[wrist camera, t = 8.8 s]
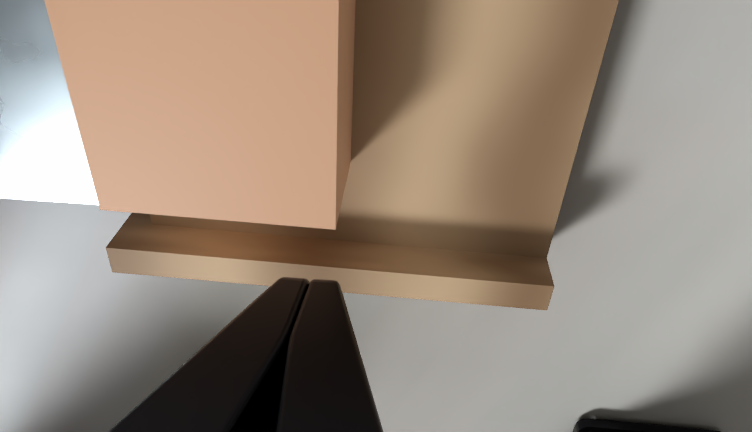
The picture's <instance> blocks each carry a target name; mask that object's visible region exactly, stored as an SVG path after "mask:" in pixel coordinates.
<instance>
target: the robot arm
mask: <svg viewBox="0 0 752 432" xmlns="http://www.w3.org/2000/svg"><path fill="white" fill-rule="evenodd" d="M109 432H383V429H382V426H381V422H380V419H379V416H378V412H377V409H376V405H375V402H374V399H373V395H372V392H371V389H370V385H369V382H368V378H367V375H366V372H365V368H364V365H363V361H362V358H361V355H360V351H359V348H358V344H357V341H356V338H355V334H354V331H353V328H352V324H351V321H350V317H349V314H348V311H347V307H346V304H345V300H344V297H343V294H342V290H341V287H340V284H339V283H338V282H337V281H335V280H323V279H313V280H311V281H310V282H309V280H307V279H306V278H296V277H281V278H279V279H278V280H277V281H276V282H275V283H273V284H272V285H271V286H270V287H269V288H268V289H267V290H266V291H265V292H263V293H262V294H261V295H260V296H259V297H258V298H257V299H256V300H255V301H253V302H252V303H251V304H250V305H249V306H248V307H247V308H246V309H244V310H243V311H242V312H241V313H240V314H239V315H238V316H237V317H236V318H234V319H233V320H232V321H231V322H230V323H229V324H228V325H227V326H226V327H224V328H223V329H222V330H221V331H220V332H219V333H218V334H217V335H216V336H214V337H213V338H212V339H211V340H210V341H209V342H208V343H207V344H206V345H204V346H203V347H202V348H201V349H200V350H199V351H198V352H197V353H196V354H194V355H193V356H192V357H191V358H190V359H189V360H188V361H187V362H186V363H184V364H183V365H182V366H181V367H180V368H179V369H178V370H177V371H176V372H174V373H173V374H172V375H171V376H170V377H169V378H168V379H167V380H165V381H164V382H163V383H162V384H161V385H160V386H159V387H158V388H157V389H155V390H154V391H153V392H152V393H151V394H150V395H149V396H148V397H147V398H145V399H144V400H143V401H142V402H141V403H140V404H139V405H138V406H137V407H135V408H134V409H133V410H132V411H131V412H130V413H129V414H128V415H127V416H125V417H124V418H123V419H122V420H121V421H120V422H119V423H118V424H117V425H115V426H114V427H113V428H112V429H111V430H110V431H109ZM573 432H719V431H713V430H702V429H692V428H681V427H670V426H660V425H649V424H638V423H627V422H617V421H606V420H595V419H584V420H580V421H579V422H577V423H576V425H575V427H574V429H573Z"/></svg>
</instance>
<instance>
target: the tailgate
mask: <svg viewBox="0 0 752 432" xmlns="http://www.w3.org/2000/svg"><path fill="white" fill-rule="evenodd" d="M0 199H15V200H31V201H47V202H63V203H79V204H94V205H99V203H98V199H97V195H96V192H95V188H94V184H93V180H92V177H91V173H90V169H89V165H88V162H87V158H86V154H85V151H84V147H83V143H82V139H81V136H80V132H79V128H78V124H77V121H76V117H75V113H74V109H73V106H72V102H71V98H70V95H69V91H68V87H67V83H66V80H65V76H64V72H63V68H62V65H61V61H60V57H59V53H58V50H57V46H56V42H55V38H54V35H53V31H52V27H51V24H50V20H49V16H48V12H47V9H46V5H45V1H44V0H0Z"/></svg>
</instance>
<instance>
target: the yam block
mask: <svg viewBox="0 0 752 432" xmlns="http://www.w3.org/2000/svg"><path fill="white" fill-rule="evenodd" d="M44 1H45V5H46V9H47V12H48V16H49V20H50V24H51V27H52V31H53V35H54V38H55V42H56V46H57V50H58V53H59V57H60V61H61V65H62V68H63V72H64V76H65V80H66V83H67V87H68V91H69V95H70V98H71V102H72V106H73V109H74V113H75V117H76V121H77V124H78V128H79V132H80V136H81V139H82V143H83V147H84V151H85V154H86V158H87V162H88V165H89V169H90V173H91V177H92V180H93V184H94V188H95V192H96V195H97V199H98V203H99V207H100V210H108V211H120V212H132V213H143V214H155V215H167V216H179V217H191V218H203V219H214V220H226V221H238V222H250V223H262V224H274V225H286V226H297V227H309V228H321V229H333V230H336V226H337V221H338V217H339V212H340V208H341V203H342V199H343V194H344V190H345V185H346V181H347V176H348V172H349V167H350V163H351V137H352V104H353V70H354V36H355V2H356V0H44Z"/></svg>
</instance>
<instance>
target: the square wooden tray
mask: <svg viewBox="0 0 752 432" xmlns="http://www.w3.org/2000/svg"><path fill="white" fill-rule="evenodd" d="M618 2H619V0H356V2H355V36H354V70H353V104H352V137H351V163H350V167H349V172H348V176H347V181H346V185H345V190H344V194H343V199H342V203H341V208H340V212H339V217H338V221H337V226H336V230H333V229H321V228H309V227H297V226H286V225H274V224H262V223H250V222H238V221H226V220H214V219H203V218H191V217H179V216H167V215H155V214H143V213H132V214H131V215H130V216H129V218H128V219H127V220H126V222H125V223H124V224H123V226H122V227H121V228H120V230H119V231H118V232H117V234H116V235H115V236H114V238H113V239H112V240H111V242H110V243H109V244H108V246H107V247H106V250H107V254H108V257H109V261H110V265H111V268H112V272H117V273H128V274H140V275H151V276H162V277H174V278H185V279H197V280H208V281H219V282H231V283H242V284H253V285H265V286H271V285H272V284H273V283H275V282H276V281H277V280H278V279H279V278H281V277H296V278H306V279H307V280H309V282H310V281H311V280H313V279H323V280H335V281H337V282H338V283H339V284H340V287H341V290H342V292H345V293H356V294H367V295H379V296H390V297H402V298H413V299H424V300H436V301H447V302H459V303H470V304H481V305H493V306H504V307H515V308H527V309H538V310H547V309H548V306H549V302H550V299H551V296H552V292H553V289H554V284H553V280H552V276H551V273H550V269H549V265H548V262H547V254H548V251H549V247H550V244H551V240H552V237H553V233H554V230H555V226H556V222H557V219H558V215H559V212H560V208H561V205H562V201H563V198H564V194H565V190H566V187H567V183H568V180H569V176H570V173H571V169H572V166H573V162H574V158H575V155H576V151H577V148H578V144H579V141H580V137H581V134H582V130H583V126H584V123H585V119H586V116H587V112H588V109H589V105H590V102H591V98H592V94H593V91H594V87H595V84H596V80H597V77H598V73H599V69H600V66H601V62H602V59H603V55H604V52H605V48H606V45H607V41H608V37H609V34H610V30H611V27H612V23H613V20H614V16H615V13H616V9H617V5H618Z"/></svg>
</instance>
